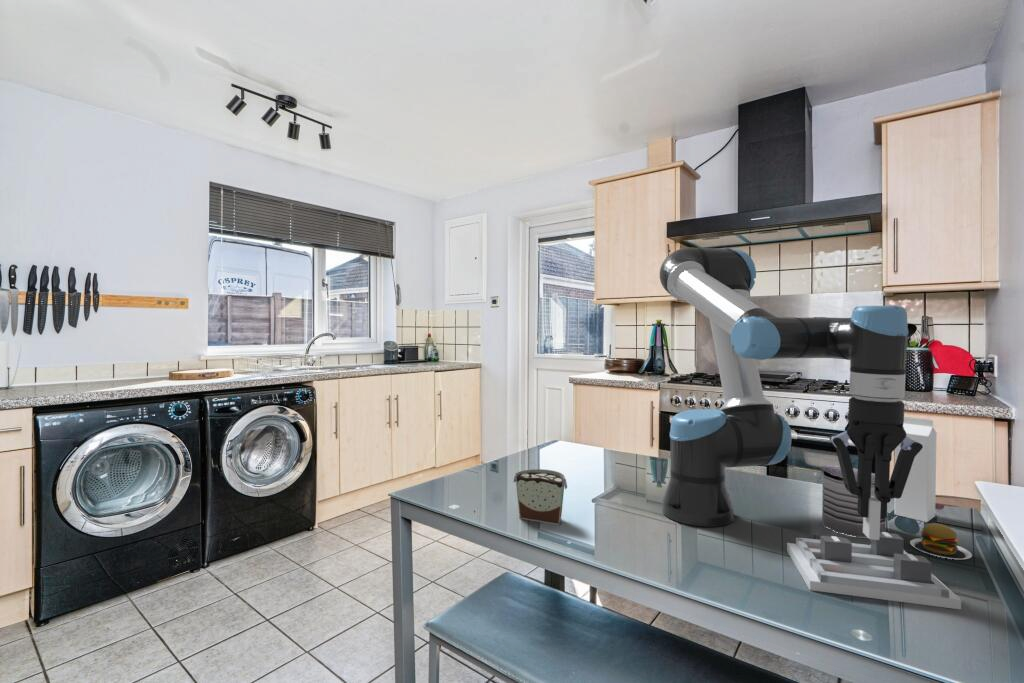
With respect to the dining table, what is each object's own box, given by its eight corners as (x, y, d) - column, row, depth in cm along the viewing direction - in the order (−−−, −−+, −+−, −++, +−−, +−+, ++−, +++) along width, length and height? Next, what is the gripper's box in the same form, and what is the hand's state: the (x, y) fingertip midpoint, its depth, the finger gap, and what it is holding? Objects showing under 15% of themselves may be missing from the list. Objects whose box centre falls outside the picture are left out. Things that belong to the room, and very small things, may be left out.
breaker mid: (824, 564, 85) (824, 540, 85) (820, 558, 87) (820, 534, 87) (851, 567, 84) (851, 542, 84) (846, 561, 86) (846, 537, 86)
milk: (927, 522, 108) (929, 421, 108) (893, 514, 113) (895, 417, 112) (935, 516, 112) (937, 418, 111) (902, 508, 117) (904, 414, 116)
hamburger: (957, 573, 87) (958, 542, 87) (885, 546, 98) (885, 518, 98) (998, 562, 91) (999, 532, 91) (924, 537, 102) (924, 510, 102)
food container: (574, 516, 112) (574, 472, 112) (565, 526, 107) (565, 479, 106) (524, 508, 117) (524, 466, 117) (513, 517, 112) (513, 473, 111)
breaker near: (900, 585, 78) (900, 558, 78) (893, 577, 80) (893, 552, 80) (930, 588, 77) (931, 561, 77) (922, 581, 79) (923, 555, 79)
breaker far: (876, 559, 87) (876, 535, 87) (870, 553, 89) (870, 530, 89) (903, 562, 86) (903, 538, 86) (897, 556, 88) (897, 533, 88)
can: (828, 514, 113) (829, 461, 113) (890, 528, 105) (891, 471, 105) (814, 528, 105) (815, 471, 105) (880, 544, 97) (881, 483, 97)
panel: (809, 590, 80) (810, 573, 80) (786, 550, 95) (787, 536, 94) (960, 609, 74) (961, 591, 74) (912, 564, 89) (912, 549, 89)
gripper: (839, 399, 82) (834, 540, 83) (934, 403, 78) (928, 551, 79) (824, 392, 89) (820, 522, 90) (911, 396, 85) (905, 531, 86)
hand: (870, 536), depth 85 cm, fingers closed
